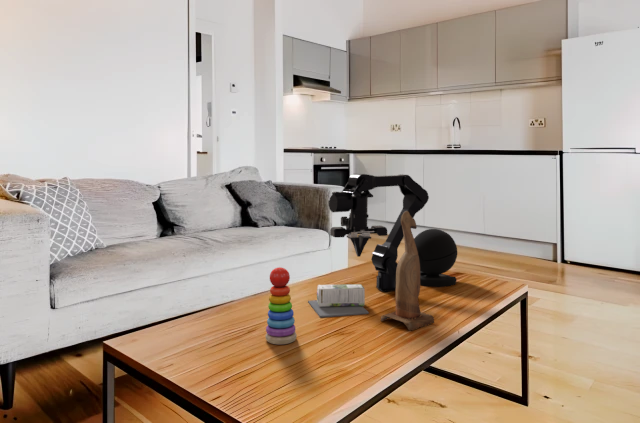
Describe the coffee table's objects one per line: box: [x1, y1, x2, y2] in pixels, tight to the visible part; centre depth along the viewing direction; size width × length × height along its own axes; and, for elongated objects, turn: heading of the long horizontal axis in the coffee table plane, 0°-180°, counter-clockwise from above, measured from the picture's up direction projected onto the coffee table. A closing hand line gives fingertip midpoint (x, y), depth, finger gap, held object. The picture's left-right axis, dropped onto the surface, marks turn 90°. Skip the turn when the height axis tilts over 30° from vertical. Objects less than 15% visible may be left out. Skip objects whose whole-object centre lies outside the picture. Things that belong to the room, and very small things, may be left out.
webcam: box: [413, 228, 458, 288], centre depth 186 cm, size 17×17×20 cm
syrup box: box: [316, 283, 366, 307], centre depth 155 cm, size 6×6×14 cm
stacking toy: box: [265, 266, 297, 345], centre depth 125 cm, size 8×8×19 cm
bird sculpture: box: [380, 211, 435, 332], centre depth 138 cm, size 11×12×32 cm
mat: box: [307, 299, 370, 318], centre depth 153 cm, size 15×16×1 cm
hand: (358, 256), depth 168 cm, fingers closed
